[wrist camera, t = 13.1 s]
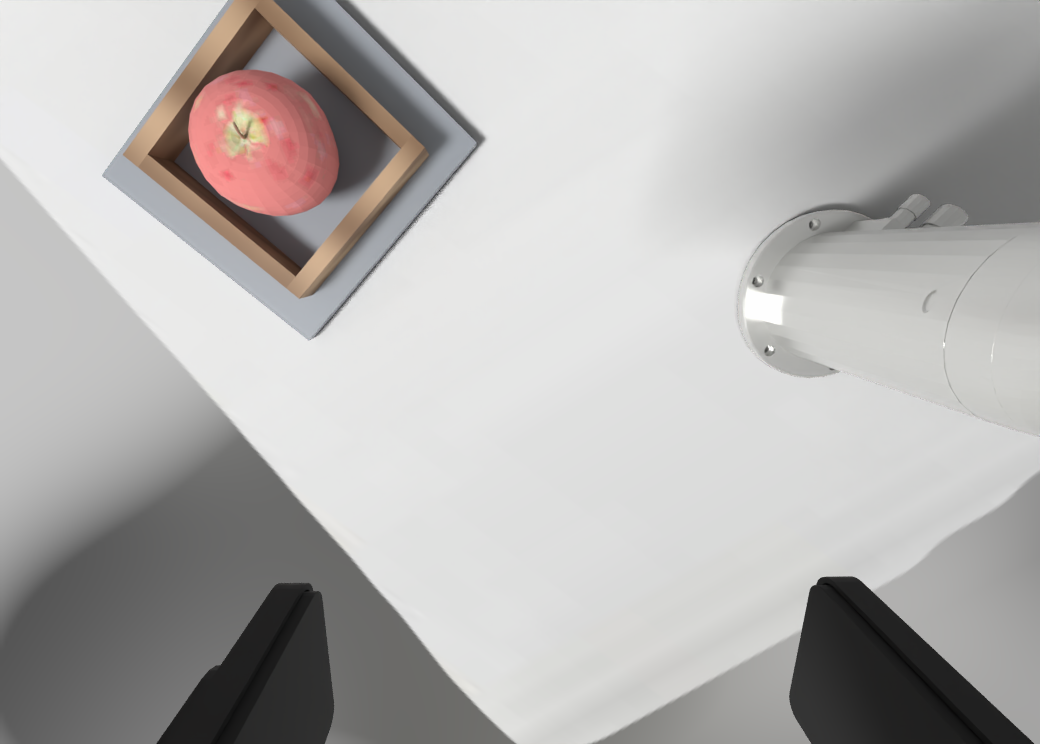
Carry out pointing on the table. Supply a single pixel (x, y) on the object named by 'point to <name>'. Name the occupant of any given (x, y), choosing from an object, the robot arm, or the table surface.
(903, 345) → the robot arm
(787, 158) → the table surface
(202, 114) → the apple
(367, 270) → the tray
